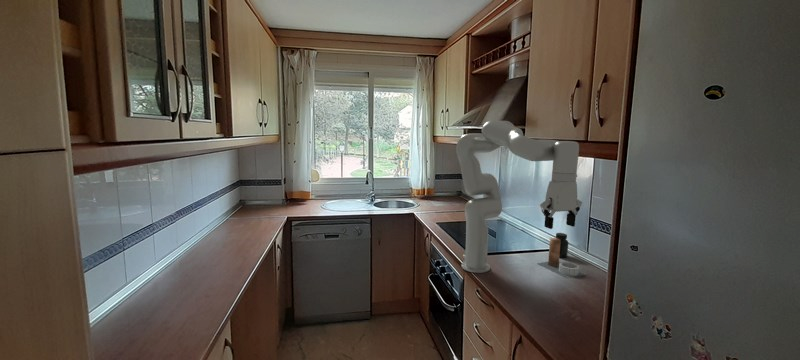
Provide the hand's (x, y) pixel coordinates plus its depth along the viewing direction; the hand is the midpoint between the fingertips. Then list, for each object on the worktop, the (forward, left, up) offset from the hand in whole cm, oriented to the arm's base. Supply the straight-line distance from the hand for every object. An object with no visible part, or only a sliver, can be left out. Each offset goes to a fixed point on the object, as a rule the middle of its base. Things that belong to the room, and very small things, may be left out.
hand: (559, 226), depth 121 cm
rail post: (-26, +27, -28) cm, 47 cm away
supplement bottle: (-34, +39, -29) cm, 59 cm away
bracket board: (-22, +27, -29) cm, 45 cm away
